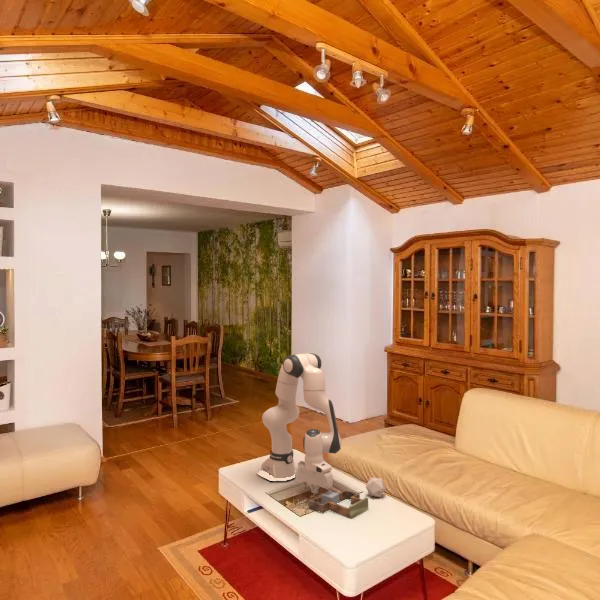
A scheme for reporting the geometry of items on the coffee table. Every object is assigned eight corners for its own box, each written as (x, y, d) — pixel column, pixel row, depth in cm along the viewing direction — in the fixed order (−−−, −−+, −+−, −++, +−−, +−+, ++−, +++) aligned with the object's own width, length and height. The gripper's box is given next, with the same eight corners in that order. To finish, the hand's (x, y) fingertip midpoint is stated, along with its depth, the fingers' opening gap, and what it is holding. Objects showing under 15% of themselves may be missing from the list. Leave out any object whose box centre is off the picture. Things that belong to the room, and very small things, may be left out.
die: (374, 502, 226) (386, 484, 226) (360, 489, 231) (372, 472, 231) (379, 502, 233) (391, 485, 234) (365, 489, 238) (376, 473, 238)
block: (321, 504, 224) (321, 494, 224) (329, 500, 229) (328, 490, 229) (332, 507, 220) (331, 497, 220) (339, 503, 225) (339, 493, 225)
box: (304, 506, 222) (304, 495, 222) (333, 492, 237) (332, 482, 237) (345, 522, 205) (345, 510, 205) (373, 506, 220) (373, 495, 220)
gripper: (294, 461, 236) (294, 489, 236) (325, 470, 222) (326, 500, 222) (302, 458, 241) (303, 485, 241) (334, 467, 227) (335, 496, 227)
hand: (314, 493), depth 231 cm, fingers closed
